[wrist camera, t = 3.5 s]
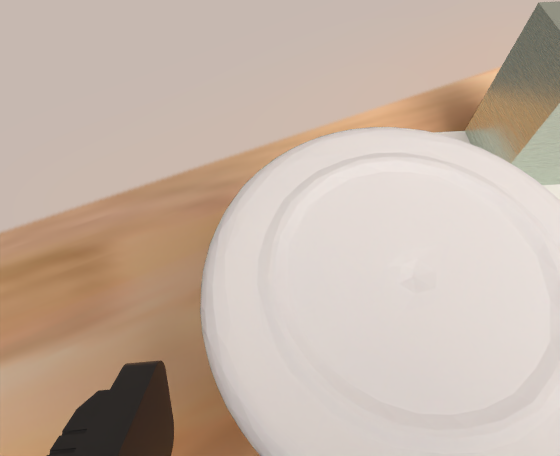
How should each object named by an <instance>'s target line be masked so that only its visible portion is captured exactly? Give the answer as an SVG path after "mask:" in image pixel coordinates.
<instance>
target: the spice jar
mask: <svg viewBox="0 0 560 456" xmlns="http://www.w3.org/2000/svg"><path fill="white" fill-rule="evenodd" d="M200 314H201V325H202V334H203V338H204V343H205V348H206V353H207V357H208V361H209V364H210V368H211V371H212V374H213V376H214V379H215V382H216V384H217V387H218V389H219V392H220V394H221V396H222V398H223V400H224V402H225V405H226V407H227V409H228V410H229V412H230V414H231V415H232V417H233V418H234V420H235V422H236V423H237V425H238V427H239V428H240V430H241V431H242V433H243V434H244V436H245V437H246V438H247V440H248V441H249V442H250V444H251V445H252V446H253V448H254V449H255V450H256V451H257V452H258V454H259V455H260V456H560V200H559V199H558V198H557V197H555V196H554V195H553V194H552V193H551V192H550V191H549V190H547V189H546V188H545V187H544V186H543V185H541V184H540V183H539V182H538V181H536V180H535V179H534V178H532V177H531V176H529V175H528V174H526V173H525V172H523V171H522V170H520V169H519V168H517V167H516V166H514V165H512V164H510V163H509V162H507V161H505V160H504V159H502V158H500V157H498V156H496V155H494V154H492V153H490V152H488V151H486V150H484V149H482V148H480V147H477V146H474V145H472V144H469V143H466V142H464V141H461V140H458V139H455V138H453V137H449V136H445V135H441V134H436V133H432V132H428V131H423V130H415V129H407V128H395V127H370V128H360V129H350V130H346V131H341V132H336V133H332V134H328V135H325V136H321V137H318V138H316V139H313V140H310V141H308V142H305V143H303V144H301V145H299V146H296V147H294V148H292V149H290V150H289V151H287V152H285V153H284V154H282V155H280V156H278V157H277V158H275V159H274V160H273V161H271V162H270V163H269V164H267V165H266V166H265V167H263V168H262V169H261V170H259V171H258V172H257V173H256V174H255V175H254V176H253V177H252V178H251V179H250V180H249V181H248V182H247V183H246V184H245V185H244V186H243V187H242V188H241V190H240V191H239V193H238V194H237V195H236V196H235V198H234V199H233V201H232V202H231V204H230V205H229V207H228V208H227V209H226V211H225V213H224V215H223V217H222V219H221V221H220V223H219V225H218V227H217V229H216V231H215V233H214V236H213V238H212V241H211V243H210V246H209V249H208V253H207V257H206V261H205V265H204V269H203V276H202V284H201V306H200Z"/></svg>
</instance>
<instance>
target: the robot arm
mask: <svg viewBox="0 0 560 456" xmlns="http://www.w3.org/2000/svg"><path fill="white" fill-rule="evenodd" d="M173 439H174V422H173V415H172V408H171V402H170V395H169V389H168V382H167V376H166V369H165V365H164V363H163V362H162V361H151V362H139V363H127V364H125V365H124V366H123V368H122V369H121V371H120V373H119V375H118V376H117V378H116V380H115V382H114V383H113V385H112V387H111V389H110V390H101V391H97V392H96V393H95V394H94V395H93V396H92V397H90V398H89V399H88V400H87V401H86V402H85V403H83V404H82V405H81V406H80V407H79V408H78V409H77V410H76V411H75V413H74V414H73V416H72V417H71V419H70V420H69V422H68V423H67V425H66V426H65V428H64V429H63V431H62V436H59V437H58V439H57V440H56V442H55V443H54V445H53V446H52V448H51V449H50V454H49V455H47V456H171V453H172V448H173Z"/></svg>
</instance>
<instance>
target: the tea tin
mask: <svg viewBox="0 0 560 456" xmlns="http://www.w3.org/2000/svg"><path fill="white" fill-rule="evenodd" d="M465 133H466V135H467V137H468V139H469V142H470V144H472V145H474V146H477V147H480V148H482V149H484V150H486V151H488V152H490V153H492V154H494V155H496V156H498V157H500V158H502V159H504V160H505V161H507V162H509V163H510V164H512V165H514V166H516V167H517V168H519V169H520V170H522V171H523V172H525V173H526V174H528V175H529V176H531V177H532V178H534V179H535V180H536V181H538V182H539V183H540V184H541V185H555V184H560V2H540V3H538V4H537V6H536V8H535V10H534V12H533V13H532V15H531V17H530V19H529V20H528V22H527V24H526V25H525V27H524V29H523V31H522V32H521V34H520V36H519V38H518V39H517V41H516V43H515V44H514V46H513V48H512V49H511V51H510V53H509V55H508V56H507V58H506V60H505V62H504V63H503V65H502V67H501V69H500V70H499V72H498V74H497V75H496V77H495V79H494V81H493V82H492V84H491V86H490V88H489V89H488V91H487V93H486V95H485V96H484V98H483V100H482V101H481V103H480V105H479V107H478V108H477V110H476V112H475V114H474V115H473V117H472V119H471V121H470V122H469V124H468V126H467V127H466V129H465Z"/></svg>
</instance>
